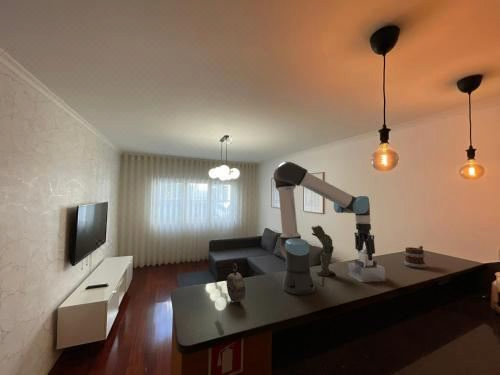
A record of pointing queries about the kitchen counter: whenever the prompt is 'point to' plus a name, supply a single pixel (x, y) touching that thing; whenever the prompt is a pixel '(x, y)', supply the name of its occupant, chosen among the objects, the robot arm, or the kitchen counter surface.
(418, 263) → the chocolate layer cake
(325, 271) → the mechanical leg
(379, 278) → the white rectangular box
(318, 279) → the kitchen counter surface
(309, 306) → the kitchen counter surface
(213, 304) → the kitchen counter surface
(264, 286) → the kitchen counter surface
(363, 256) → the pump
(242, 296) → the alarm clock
